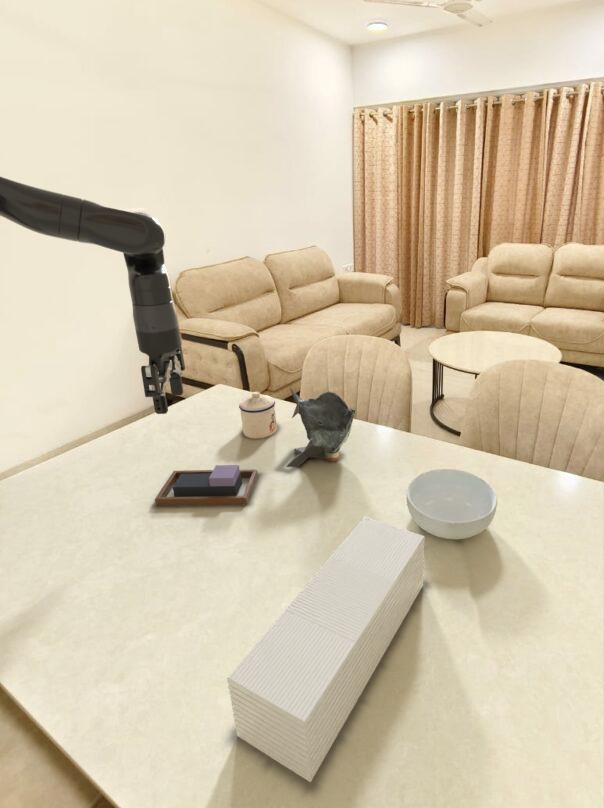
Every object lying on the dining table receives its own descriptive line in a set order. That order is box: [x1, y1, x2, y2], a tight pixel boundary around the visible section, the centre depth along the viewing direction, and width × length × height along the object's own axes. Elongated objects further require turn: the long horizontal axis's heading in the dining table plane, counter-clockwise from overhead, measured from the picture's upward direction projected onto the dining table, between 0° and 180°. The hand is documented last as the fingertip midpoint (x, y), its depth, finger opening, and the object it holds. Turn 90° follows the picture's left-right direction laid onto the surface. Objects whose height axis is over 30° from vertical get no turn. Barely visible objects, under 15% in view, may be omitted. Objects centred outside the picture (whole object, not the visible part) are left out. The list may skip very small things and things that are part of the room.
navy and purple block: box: [172, 464, 243, 497], centre depth 106 cm, size 5×13×5 cm, turn 90°
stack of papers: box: [226, 516, 425, 783], centre depth 69 cm, size 32×11×11 cm, turn 152°
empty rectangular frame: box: [154, 469, 259, 507], centre depth 107 cm, size 19×11×2 cm, turn 90°
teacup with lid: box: [238, 391, 278, 439], centre depth 131 cm, size 12×9×12 cm
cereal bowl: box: [405, 468, 498, 540], centre depth 96 cm, size 17×17×7 cm
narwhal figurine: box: [285, 386, 356, 469], centre depth 115 cm, size 14×15×18 cm
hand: (170, 403), depth 99 cm, fingers open, 8 cm apart
